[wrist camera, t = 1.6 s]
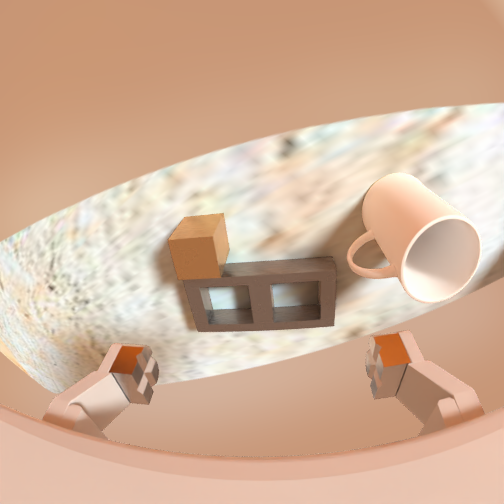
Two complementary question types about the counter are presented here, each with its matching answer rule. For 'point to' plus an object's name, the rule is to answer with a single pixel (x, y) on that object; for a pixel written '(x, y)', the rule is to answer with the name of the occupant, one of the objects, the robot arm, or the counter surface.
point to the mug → (418, 239)
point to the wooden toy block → (200, 247)
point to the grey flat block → (266, 296)
